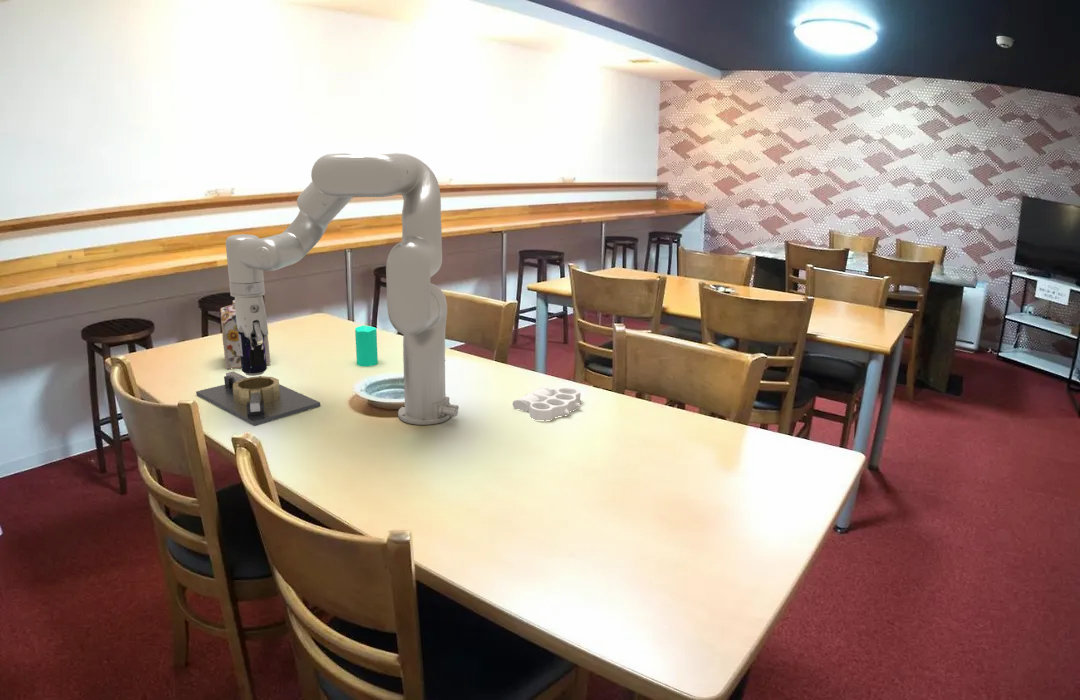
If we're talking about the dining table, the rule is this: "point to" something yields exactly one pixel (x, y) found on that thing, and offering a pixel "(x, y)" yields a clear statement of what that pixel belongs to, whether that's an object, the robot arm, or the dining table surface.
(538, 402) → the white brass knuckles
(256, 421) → the grey plate with collar
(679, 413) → the dining table surface
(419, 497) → the dining table surface
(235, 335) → the decorative jar
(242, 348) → the beverage can
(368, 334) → the candle
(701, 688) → the dining table surface
